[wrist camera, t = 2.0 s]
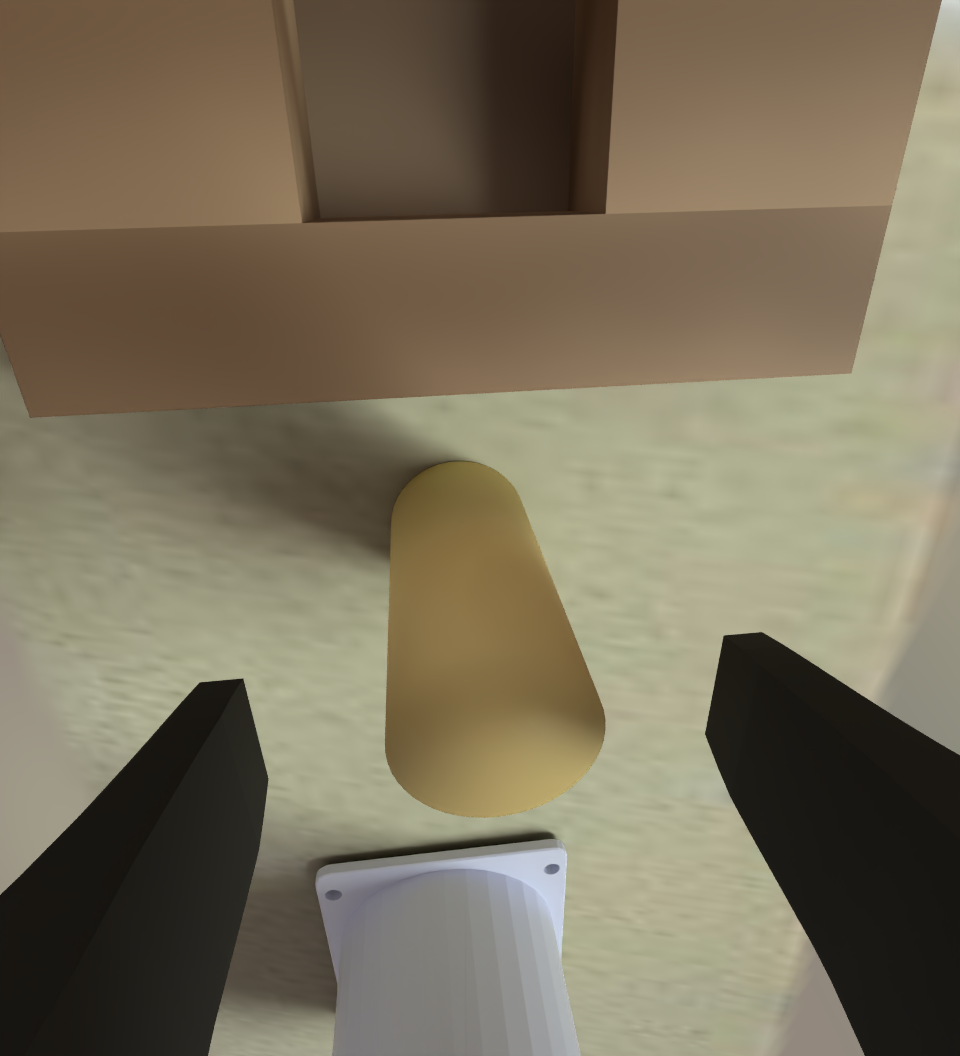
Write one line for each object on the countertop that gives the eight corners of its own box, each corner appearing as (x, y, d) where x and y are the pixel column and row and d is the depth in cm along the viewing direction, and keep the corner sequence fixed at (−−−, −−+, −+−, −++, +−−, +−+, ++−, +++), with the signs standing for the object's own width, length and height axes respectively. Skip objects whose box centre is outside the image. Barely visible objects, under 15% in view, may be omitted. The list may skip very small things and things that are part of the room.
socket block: (766, 340, 14) (851, 373, 12) (105, 372, 13) (30, 418, 10) (888, -345, 10) (1075, -551, 7) (-119, -394, 8) (-359, -665, 6)
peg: (523, 575, 16) (598, 805, 10) (397, 584, 16) (395, 828, 10) (524, 457, 15) (613, 642, 9) (385, 465, 15) (373, 663, 8)
